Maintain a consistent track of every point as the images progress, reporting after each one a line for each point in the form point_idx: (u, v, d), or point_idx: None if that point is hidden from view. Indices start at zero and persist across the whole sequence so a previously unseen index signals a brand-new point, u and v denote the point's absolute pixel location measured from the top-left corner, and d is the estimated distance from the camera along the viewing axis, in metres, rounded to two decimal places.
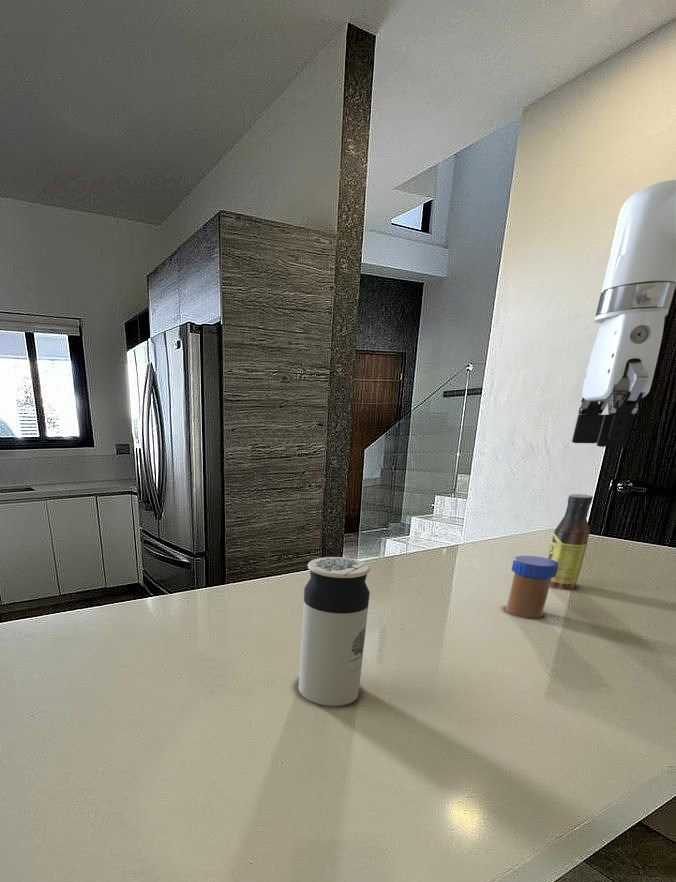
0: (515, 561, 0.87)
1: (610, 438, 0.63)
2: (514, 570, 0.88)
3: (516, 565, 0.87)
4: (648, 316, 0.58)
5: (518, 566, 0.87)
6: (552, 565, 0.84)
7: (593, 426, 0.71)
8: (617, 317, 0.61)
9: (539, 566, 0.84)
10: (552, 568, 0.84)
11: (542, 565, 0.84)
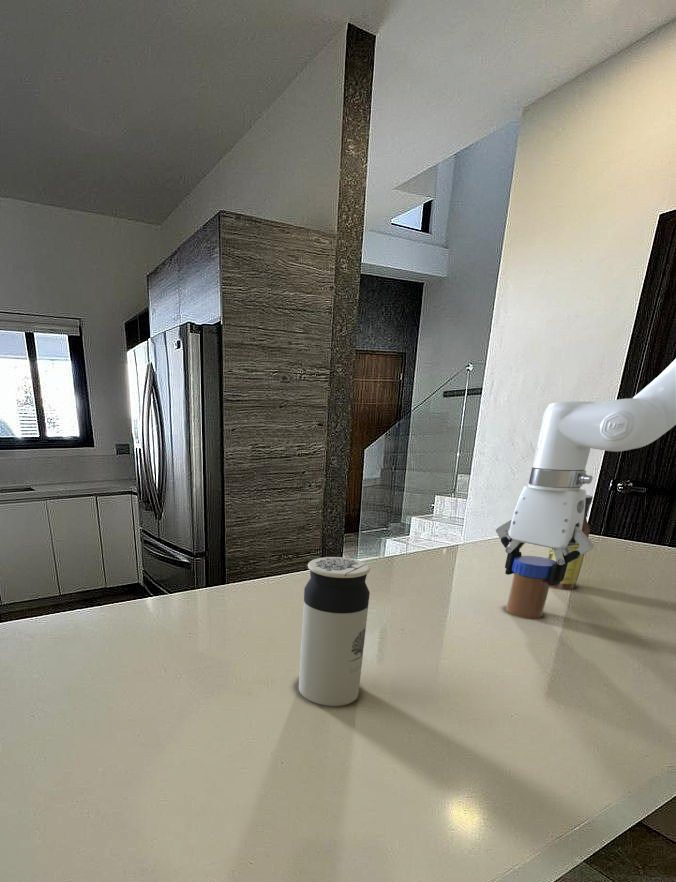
0: (515, 561, 0.87)
1: (559, 580, 0.84)
2: (514, 570, 0.88)
3: (516, 565, 0.87)
4: (583, 494, 0.79)
5: (518, 566, 0.87)
6: None
7: None
8: (563, 492, 0.79)
9: (539, 566, 0.84)
10: None
11: (542, 565, 0.84)
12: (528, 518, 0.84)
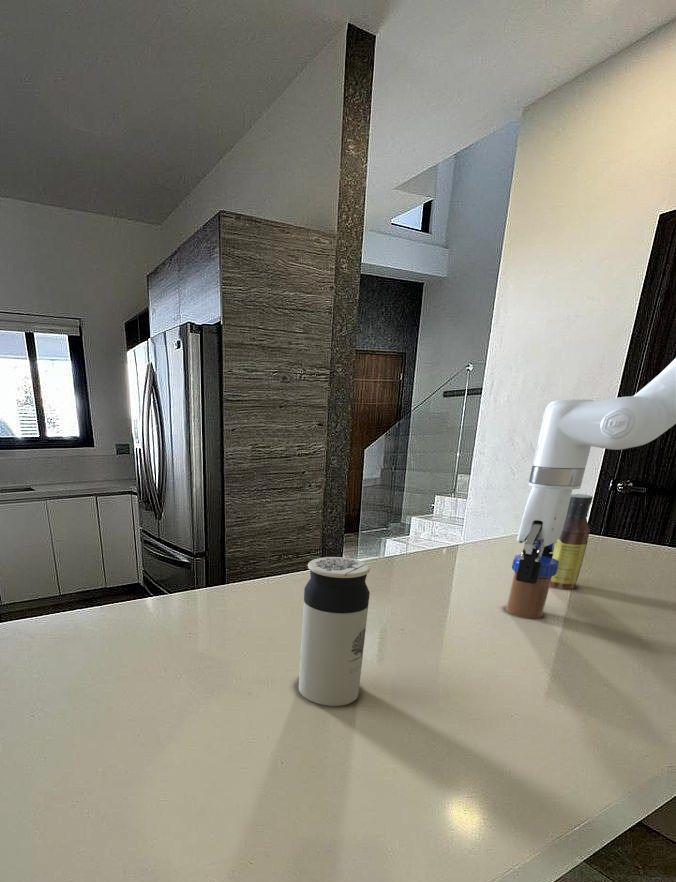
0: (548, 566, 0.84)
1: None
2: (548, 574, 0.84)
3: (550, 569, 0.84)
4: None
5: (553, 569, 0.84)
6: (544, 556, 0.88)
7: None
8: None
9: None
10: None
11: (554, 559, 0.87)
12: (559, 520, 0.81)
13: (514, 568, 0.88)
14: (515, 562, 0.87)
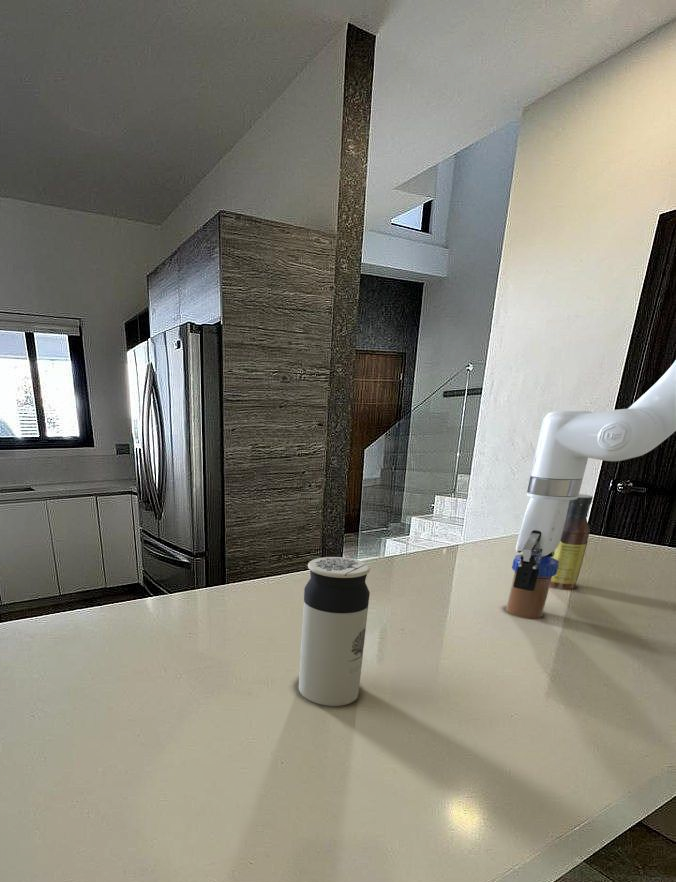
0: (549, 566, 0.84)
1: None
2: (549, 574, 0.84)
3: (550, 569, 0.84)
4: None
5: (554, 568, 0.84)
6: (544, 556, 0.88)
7: None
8: None
9: None
10: None
11: (554, 559, 0.87)
12: (557, 530, 0.82)
13: (514, 568, 0.88)
14: (515, 562, 0.87)
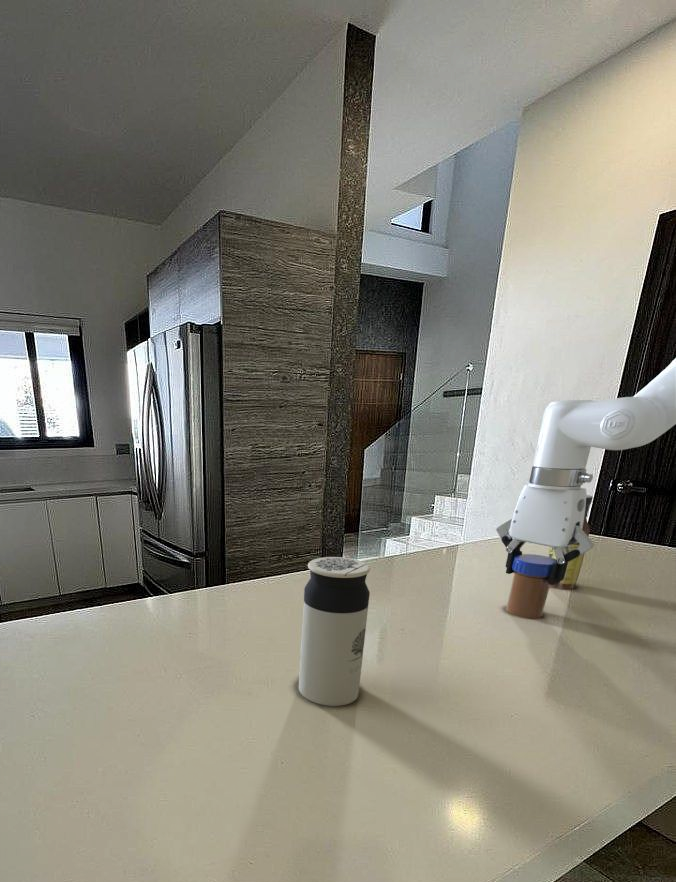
0: (549, 566, 0.84)
1: (559, 579, 0.84)
2: (549, 574, 0.84)
3: None
4: (583, 493, 0.79)
5: None
6: (544, 556, 0.88)
7: None
8: (564, 491, 0.79)
9: None
10: None
11: (554, 559, 0.87)
12: (528, 517, 0.84)
13: (514, 568, 0.87)
14: (515, 562, 0.87)
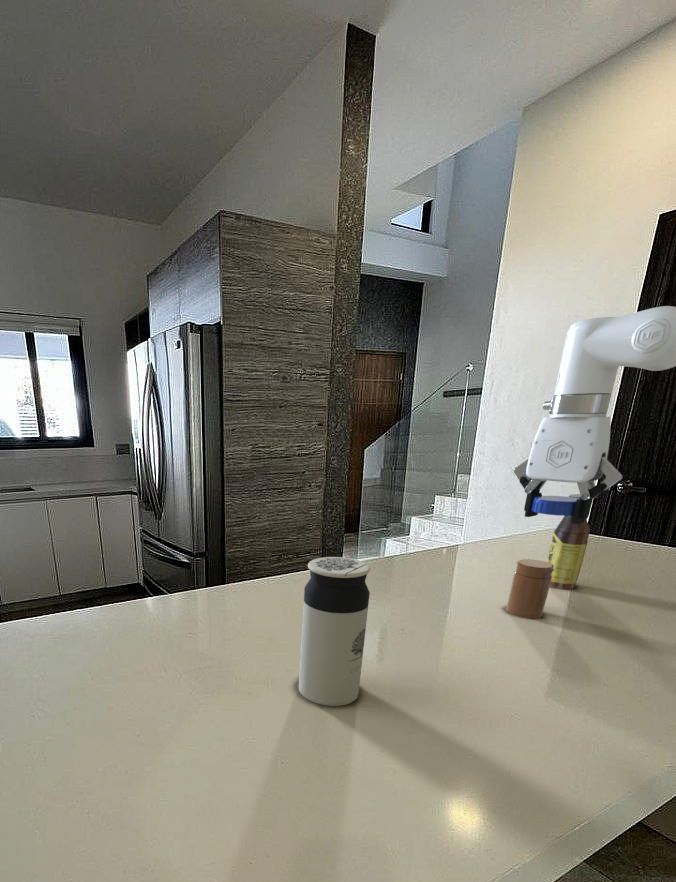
0: None
1: None
2: None
3: None
4: None
5: None
6: (549, 500, 0.79)
7: None
8: None
9: (536, 499, 0.82)
10: (546, 503, 0.80)
11: (538, 498, 0.81)
12: None
13: None
14: None
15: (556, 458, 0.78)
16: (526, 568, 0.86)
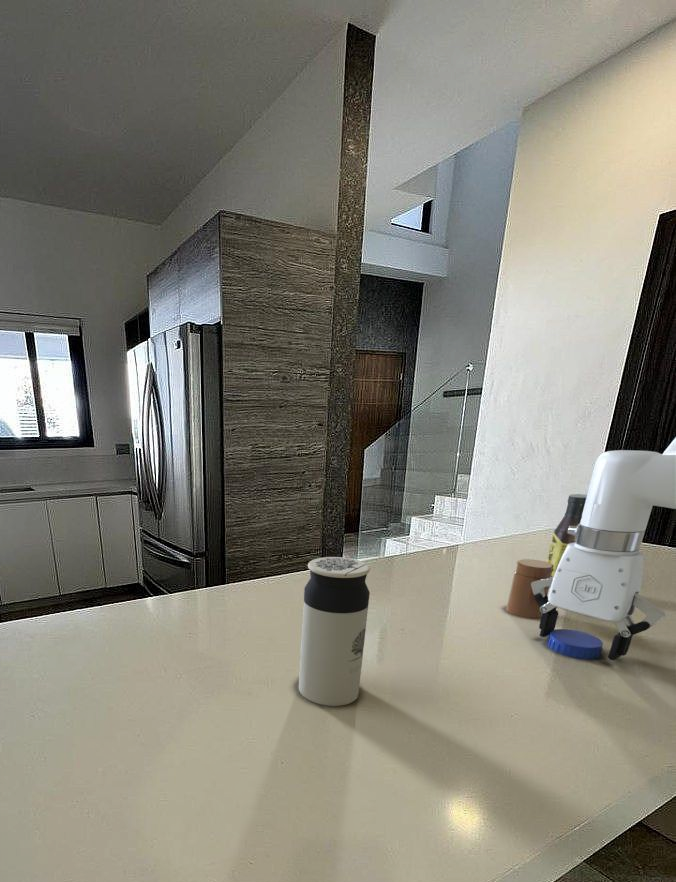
0: None
1: None
2: None
3: None
4: None
5: None
6: (567, 643, 0.74)
7: None
8: None
9: (553, 637, 0.76)
10: (564, 645, 0.74)
11: (555, 637, 0.75)
12: None
13: None
14: None
15: (582, 591, 0.71)
16: (526, 568, 0.86)
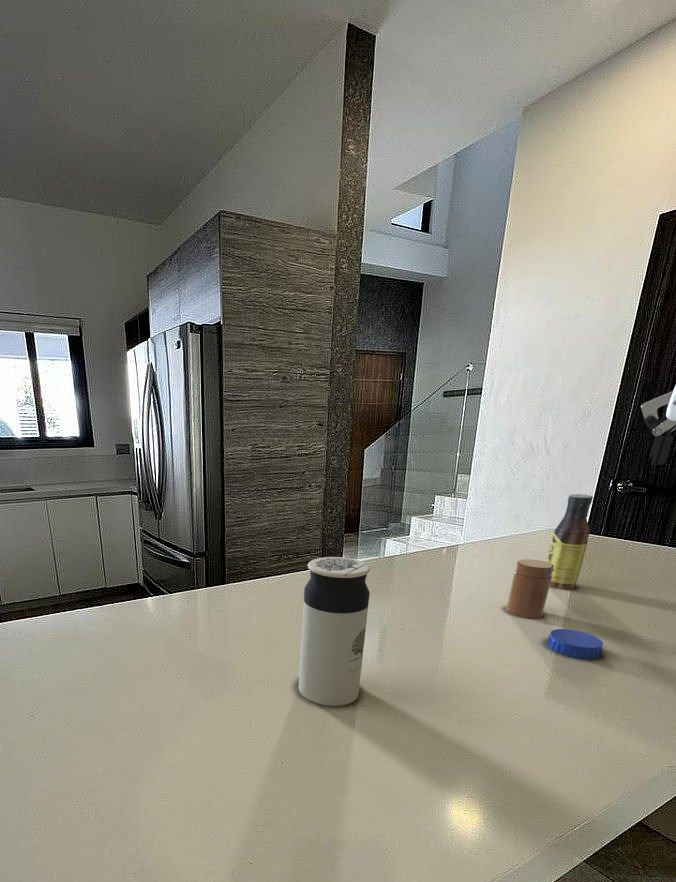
0: None
1: None
2: None
3: None
4: None
5: None
6: (567, 643, 0.74)
7: None
8: None
9: (553, 637, 0.76)
10: (564, 645, 0.74)
11: (555, 637, 0.75)
12: None
13: None
14: None
15: None
16: (526, 568, 0.86)
